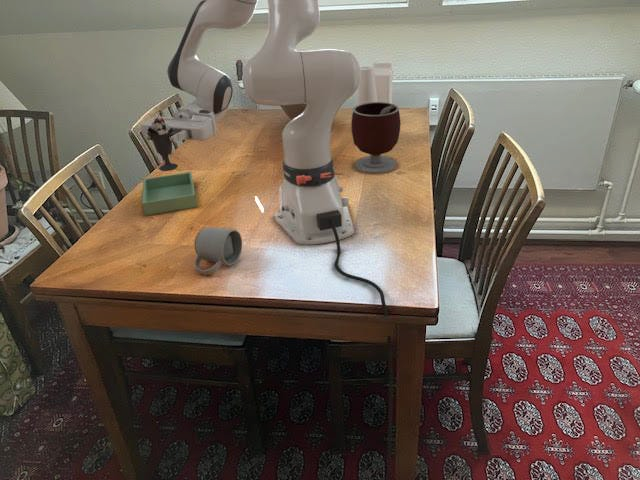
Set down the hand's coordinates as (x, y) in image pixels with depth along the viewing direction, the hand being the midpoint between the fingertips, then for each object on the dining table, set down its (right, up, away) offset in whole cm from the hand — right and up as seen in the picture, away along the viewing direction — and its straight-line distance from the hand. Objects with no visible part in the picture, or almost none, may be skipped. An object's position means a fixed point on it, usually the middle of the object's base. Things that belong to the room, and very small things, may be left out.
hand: (160, 138), depth 136 cm
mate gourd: (+58, -5, +20) cm, 62 cm away
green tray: (0, -15, +8) cm, 17 cm away
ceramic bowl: (+37, +18, +61) cm, 73 cm away
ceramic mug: (+19, -31, -22) cm, 43 cm away
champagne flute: (+57, +6, +37) cm, 68 cm away
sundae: (+1, -7, +5) cm, 9 cm away
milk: (+63, +13, +49) cm, 81 cm away
